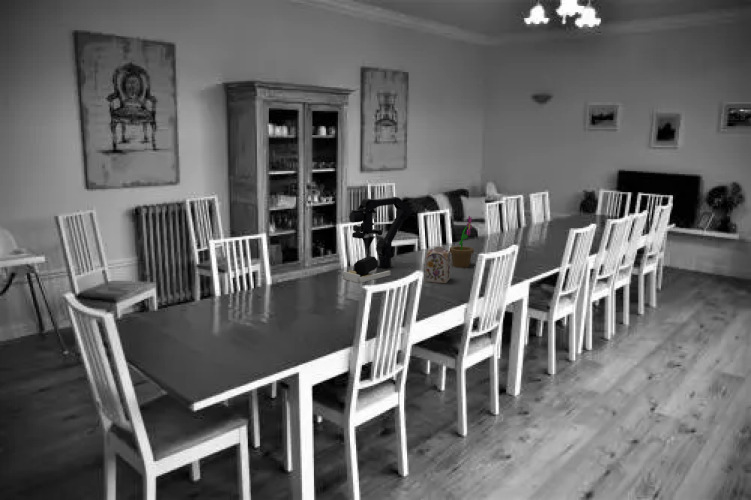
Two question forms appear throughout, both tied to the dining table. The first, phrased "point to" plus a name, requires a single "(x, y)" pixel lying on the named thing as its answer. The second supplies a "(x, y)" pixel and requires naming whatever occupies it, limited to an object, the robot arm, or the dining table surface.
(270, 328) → the dining table surface
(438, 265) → the decorative jar
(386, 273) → the tester cradle
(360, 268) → the security camera
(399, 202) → the robot arm
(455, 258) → the flowerpot
